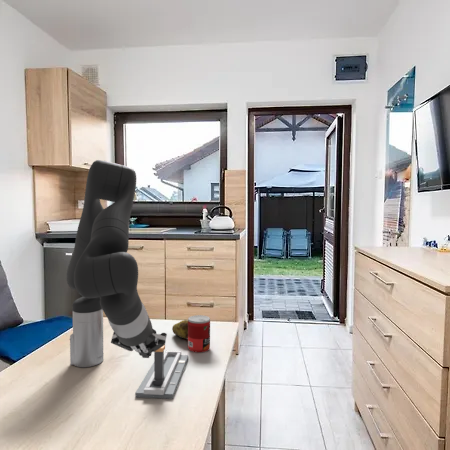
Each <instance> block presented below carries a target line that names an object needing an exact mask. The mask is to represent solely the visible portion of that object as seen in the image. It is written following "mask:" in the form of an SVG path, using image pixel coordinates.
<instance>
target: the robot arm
mask: <svg viewBox="0 0 450 450" xmlns="http://www.w3.org/2000/svg"><path fill="white" fill-rule="evenodd" d="M85 183H86V184H85V191H84V199H83V207H82V212H81V215H80V219H79V223H78V226H77V229H76V230H77V231H76V235H75V241H74V246H73V247H74V248H73V251H72V254H71V258H70V260H69V262H68V263H69V264H68V266H67V270H66V271H67V272H66V282H67V285H68V287H69V288H70V289H72V290H76V291H77V293H78V295H80V296H81V297H79V298H77V299H75V300H74V301H73V302H72V305H71V307H72V333H71V334H70V335H69V352H70V353H69V354H70V355H69V358H70V359H69V361H70V362H69V365H70V366H75V367H76V368H77V367H78V368H90V367H94V366H97V365H100V364H102V362H103V361H104V314H105V317H106V318H107V320H108V323H109V326H110V327H111V330H112V331H113V334H112V336H111V341H110V343H111V344H113V345H114V346H117V347H119V348H121V349H124V350H127V351H128V352H132V351H135V352H136V353H138V355H139V356H141V358H142V359H150V357H152V355H153V354H152V353H154V352H155V351H156V350H158V349H159V348H161V347H162V346H164V345H165V346H166V341H167V336H168V335H167V334H168V333H167V332H161V333H157V331H156V330H155V329H154V327H153V324H152V320H151V319H150V316H149V314H148V311H147V309H146V306H145V305H144V303H143V302H142V300H141V297H140V294H139V293H138V292H139V291H138V280H139V265H138V262H137V260H136V258H135V257H134V256H133V255H131V254H130V253H128V251H129V245H130V244H129V239H130V237H129V236H130V235H129V234H130V233H129V232H130V231H129V227H130V220H131V214H132V210H133V206H134V202H135V201H134V199H135V196H136V195H135V194H136V188H137V173H136V170H134V168H132V167H129V166H126V165H125V164H118V163H116V162H110V161H107V160H99V159H96V160H94V161H93V162H92V163H91V165H90V167H89V170H88V173H87V178H86V182H85ZM101 200H102V201H108V202H112V204H110V205H109V206H106V207H105V208H104V207H103V205H102V203H101Z"/></svg>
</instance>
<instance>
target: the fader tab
mask: <svg viewBox="0 0 450 450" xmlns="http://www.w3.org/2000/svg"><path fill="white" fill-rule="evenodd" d="M165 350H166V344H165V345H164V346H162V347H161V348H159V349H158V350H156V351H155V352H153V353H154V355H153V356H154V360H153V363H154V380H153V385H162V384H163V382H164V380H165V376H164V353H165Z"/></svg>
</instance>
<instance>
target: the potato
mask: <svg viewBox="0 0 450 450" xmlns="http://www.w3.org/2000/svg"><path fill="white" fill-rule="evenodd" d="M171 331H172V333H173V334H174V335H176V336H178V337H179V338H180V339H186V340H188V319H184V320H181V321H178V322H177V323H175V324H173V326H172V328H171Z"/></svg>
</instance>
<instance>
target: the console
mask: <svg viewBox="0 0 450 450" xmlns="http://www.w3.org/2000/svg"><path fill="white" fill-rule="evenodd" d="M188 360H189V355H188V354H187V355H186V354H182V350H166V349H165V350H164V376H165V380H164V382H163V384H162V385H153V380H154V362H153V363H152V365H151V366H150V367H149V370H148V371H147V373H146V375H144V378H143V380H142V381H141V382H140V385H139V386H138V388H137V389H136V391H135V394H134V396H135V398H145V399H147V398H148V399H174V397H175V395H176V391H177V389H178V386H179V384H180V381H181V379H182V376H183V373H184V371H185V368H186V366H187V363H188Z"/></svg>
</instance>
